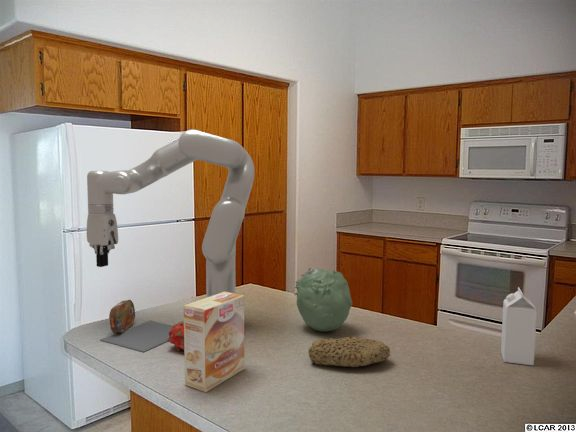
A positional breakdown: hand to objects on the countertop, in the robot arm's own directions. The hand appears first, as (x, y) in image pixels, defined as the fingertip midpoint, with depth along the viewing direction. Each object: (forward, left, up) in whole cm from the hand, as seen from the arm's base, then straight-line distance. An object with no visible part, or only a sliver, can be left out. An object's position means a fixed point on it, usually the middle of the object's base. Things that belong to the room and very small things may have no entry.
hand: (102, 265), depth 147 cm
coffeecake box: (-55, +12, -20) cm, 60 cm away
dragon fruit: (-37, +2, -20) cm, 42 cm away
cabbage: (-64, -31, -20) cm, 74 cm away
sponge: (-81, -12, -20) cm, 84 cm away
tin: (-9, 0, -20) cm, 22 cm away
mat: (-19, 0, -20) cm, 28 cm away
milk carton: (-119, -36, -20) cm, 126 cm away
